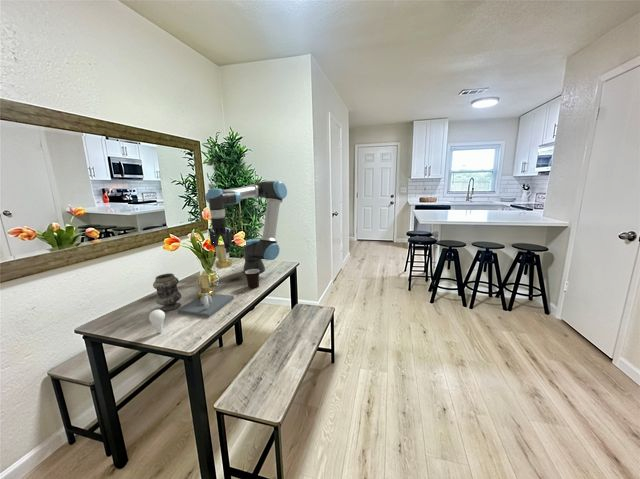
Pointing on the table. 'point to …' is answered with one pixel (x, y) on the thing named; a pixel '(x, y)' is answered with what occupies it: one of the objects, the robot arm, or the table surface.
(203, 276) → the seated planet gear
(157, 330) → the lightbulb
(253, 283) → the coffee mug
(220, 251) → the gear
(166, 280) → the apothecary jar
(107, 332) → the table surface
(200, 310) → the carrier plate
